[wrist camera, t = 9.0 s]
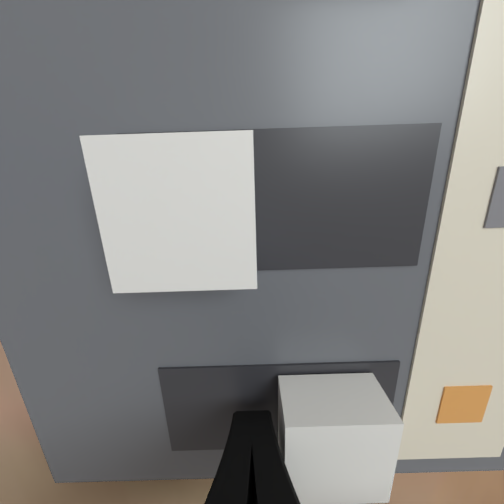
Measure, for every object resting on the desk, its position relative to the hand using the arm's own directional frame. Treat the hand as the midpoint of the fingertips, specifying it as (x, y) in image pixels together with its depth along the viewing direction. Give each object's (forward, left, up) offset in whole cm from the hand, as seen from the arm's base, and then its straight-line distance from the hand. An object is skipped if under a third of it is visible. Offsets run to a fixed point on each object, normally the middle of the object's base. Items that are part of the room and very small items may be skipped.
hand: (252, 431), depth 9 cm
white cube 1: (+3, 0, -1) cm, 3 cm away
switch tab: (-1, +8, -1) cm, 8 cm away
